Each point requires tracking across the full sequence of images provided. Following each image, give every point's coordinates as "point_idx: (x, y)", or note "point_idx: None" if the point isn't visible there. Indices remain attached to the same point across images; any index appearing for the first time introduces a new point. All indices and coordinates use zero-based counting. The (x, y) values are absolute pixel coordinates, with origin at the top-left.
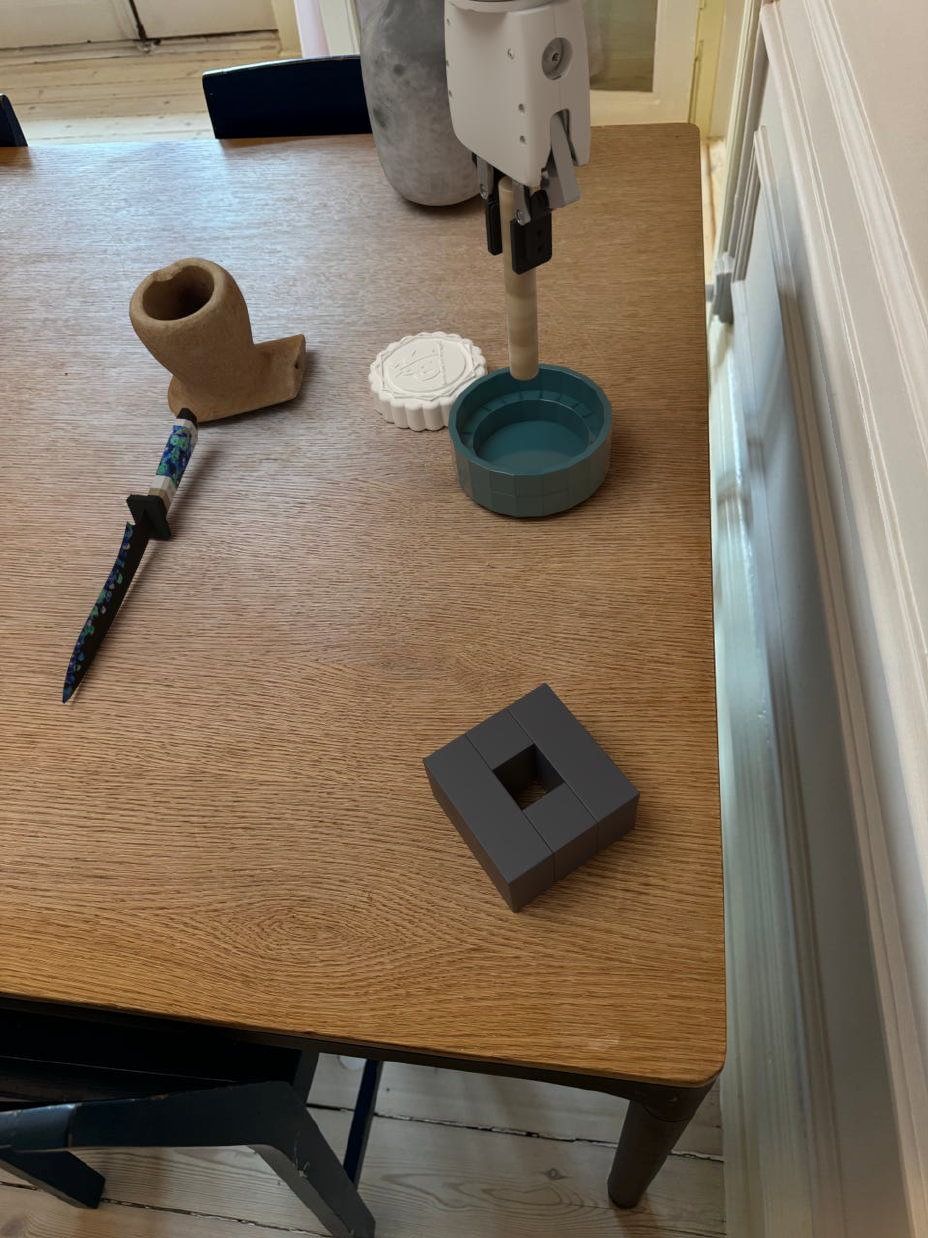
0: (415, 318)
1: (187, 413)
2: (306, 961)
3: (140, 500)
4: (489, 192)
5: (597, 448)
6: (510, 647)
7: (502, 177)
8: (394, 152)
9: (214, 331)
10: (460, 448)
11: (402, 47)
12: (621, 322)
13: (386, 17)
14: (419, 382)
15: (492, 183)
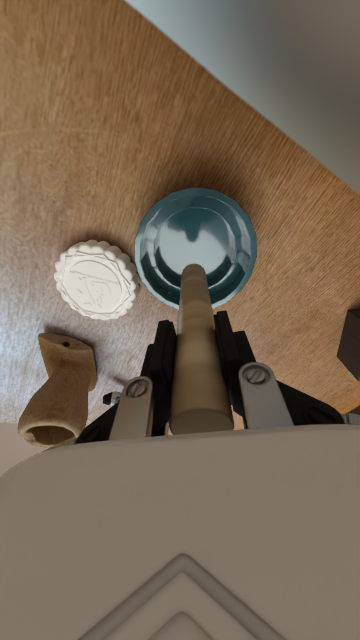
0: (18, 260)
1: (107, 401)
2: (351, 397)
3: None
4: (167, 425)
5: (252, 227)
6: (301, 308)
7: (153, 419)
8: None
9: (79, 415)
10: None
11: None
12: (50, 73)
13: None
14: (111, 297)
15: (165, 433)
